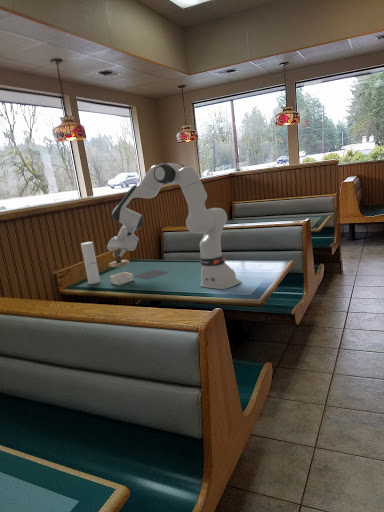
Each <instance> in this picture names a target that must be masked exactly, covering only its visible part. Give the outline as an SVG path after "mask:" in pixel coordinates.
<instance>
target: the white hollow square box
mask: <svg viewBox="0 0 384 512" xmlns="http://www.w3.org/2000/svg"><path fill="white" fill-rule="evenodd" d="M109 279H110V283H111V284H112V285H115V286H122V285H124V284H127V283H130V282H133V281H134V275H133V273H130V272H127V271H123V272H118V273H115V274H112V275H110V276H109Z"/></svg>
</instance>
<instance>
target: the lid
mask: <svg viewBox="0 0 384 512" xmlns="http://www.w3.org/2000/svg"><path fill="white" fill-rule="evenodd" d="M114 252H115V257H114V258H115V261H112V262H110V263H108V267H110V268H119V267H123V266H124V267H125V266H127V265H129V264H130V260H128V259H122V257H119V256H118V255H119V253H120V252H121V251H119V249H115V250H114Z"/></svg>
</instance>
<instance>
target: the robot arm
mask: <svg viewBox="0 0 384 512" xmlns="http://www.w3.org/2000/svg"><path fill="white" fill-rule="evenodd" d="M177 184H178V185H179V187H180V190H181V191H182V194H183V195H184V196H183V197H184V198H185V201H186V203H187V209H188V214H187V217H186V220H185V226H186V229H187V230H188V232H190V233H191V234H203V236H202V238H201V240H200V242H199V252H200V258H199V259H200V264H201V270H200V274H201V275H200V280H201V281H200V284H199V285H200V287H201V288H209V289H217V290H227V289H230V287H231V288H234V287H236V286H238V285H240V284H241V283H242V280H241V279H238V278H237V275H236V272H235V271H234V269H233V268H231V267H230V266H229V265H228V264H227V263H226V257H224V256H223V254H222V241H221V240H222V234H223V233H222V232H223V229H224V227H225V225H226V223H227V221H228V215H227V212H226V211H225V209H223V208H222V207H221V208H220V207H211V208H207V207H206V200H207V198H208V193H207V192H206V190H205V187H204V184H203V183H202V181H201V179H200V177H199V175H198V173H197V172H196V171H195V169H194V168H193V167H192V166H188V165H187V166H185V165H183V164H182V163H181V164H180V163H173V162H167V163H164V162H162V163H159V164H154V165H152V166H151V167H150V168H149V169H148V170H147V172H146V173H145V174H144V176H143V179H142V181H141V182H139V183H138V184H133V185H132V186H131V187H130V189H128V191H127V193H126V194H125V195H124V196H123V198H122V199H121V200H120V201H119V203H118V204H117V205H116V206H115V207H114V208H113V210H112V212H111V219H112V220H113V221H114V222H117V223H119V224H122V225H121V227H120V229H119V231H118V234H117V236H113V237H111V239H110V240H109V242H108V243H107V245H106V249H107V250H108V251H111V252H112V257H114V258H115V252H114V250H115V249H119V251H120V253H119V255H118V256H119V257H121V258H122V257H123V255H124V254H125V253H126V252H134V251H135V250H136V248H137V246H138V242H139V241H140V239H139V237H138V236H137V235H136V234H135V231H138V230H140V229H141V228H142V224H143V222H144V217H143V215H142V214H140V213H138V212H137V211H135V210H132V209H129V207H127V206H128V204H129V203H130V202H131V200H133V199H136V198H137V199H138V198H139V199H140V198H141V199H147V200H149V199H153V198H155V197H156V196H157V195H158V194H159V192H160V190H161V189H162V187H163V185H177ZM240 282H241V283H240ZM239 283H240V284H239ZM237 284H238V285H237ZM235 285H236V286H235ZM233 286H234V287H233ZM226 288H227V289H226Z"/></svg>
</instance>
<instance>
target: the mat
mask: <svg viewBox="0 0 384 512" xmlns="http://www.w3.org/2000/svg"><path fill="white" fill-rule="evenodd" d="M166 274H169V272H167V271H164V270H163V271H162V270H159V269H151V270H149V271H146V272H142V273H139V274H135V275H134V277H135V278H138V279H143V280H146V281H148V280H151V279H153V278H157V277H160V276H164V275H166Z"/></svg>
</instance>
